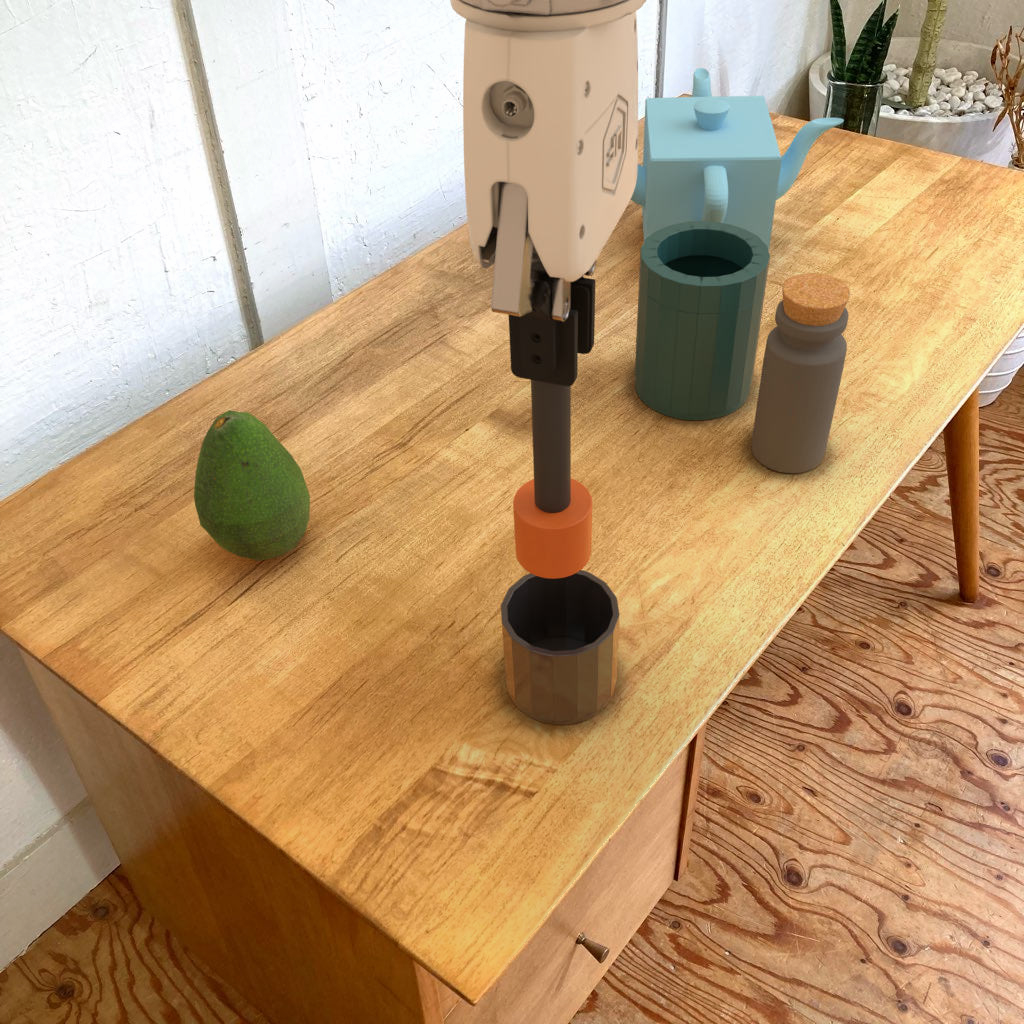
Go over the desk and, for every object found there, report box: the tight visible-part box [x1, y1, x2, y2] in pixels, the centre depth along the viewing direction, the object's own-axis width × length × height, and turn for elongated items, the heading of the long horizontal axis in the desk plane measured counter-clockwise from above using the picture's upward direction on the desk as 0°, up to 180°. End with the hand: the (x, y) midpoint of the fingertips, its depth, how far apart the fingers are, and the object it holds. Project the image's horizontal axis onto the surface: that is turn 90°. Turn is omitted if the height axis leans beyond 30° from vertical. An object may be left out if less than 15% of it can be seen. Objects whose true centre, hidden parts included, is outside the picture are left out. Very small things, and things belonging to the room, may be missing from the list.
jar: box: [634, 221, 771, 421], centre depth 87 cm, size 10×10×13 cm
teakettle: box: [630, 67, 845, 251], centre depth 104 cm, size 19×19×15 cm
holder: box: [500, 569, 620, 726], centre depth 67 cm, size 7×7×7 cm
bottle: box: [750, 272, 851, 474], centre depth 80 cm, size 6×6×15 cm
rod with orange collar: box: [512, 270, 593, 579], centre depth 54 cm, size 4×4×19 cm
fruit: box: [193, 409, 311, 562], centre depth 75 cm, size 8×8×12 cm
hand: (553, 360), depth 52 cm, fingers closed on rod with orange collar, 2 cm apart
